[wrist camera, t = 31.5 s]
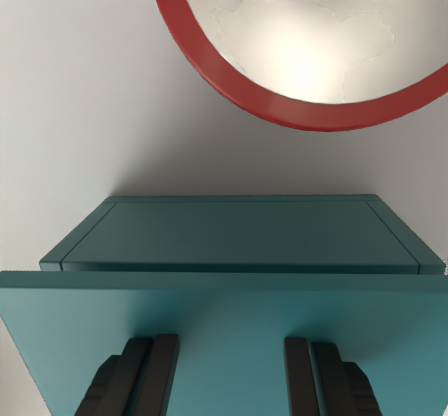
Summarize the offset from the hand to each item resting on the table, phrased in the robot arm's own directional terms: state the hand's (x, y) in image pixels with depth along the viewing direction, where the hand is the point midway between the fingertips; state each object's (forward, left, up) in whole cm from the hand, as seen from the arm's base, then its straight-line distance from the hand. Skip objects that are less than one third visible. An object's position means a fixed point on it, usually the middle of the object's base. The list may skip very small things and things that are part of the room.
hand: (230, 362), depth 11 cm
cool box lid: (+2, -4, -1) cm, 4 cm away
